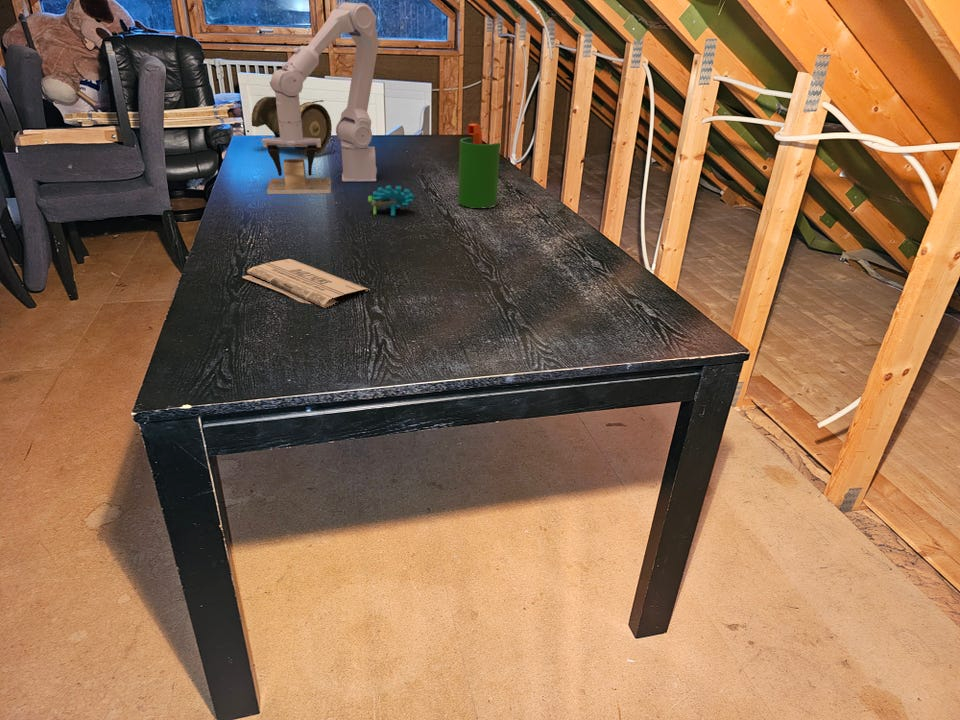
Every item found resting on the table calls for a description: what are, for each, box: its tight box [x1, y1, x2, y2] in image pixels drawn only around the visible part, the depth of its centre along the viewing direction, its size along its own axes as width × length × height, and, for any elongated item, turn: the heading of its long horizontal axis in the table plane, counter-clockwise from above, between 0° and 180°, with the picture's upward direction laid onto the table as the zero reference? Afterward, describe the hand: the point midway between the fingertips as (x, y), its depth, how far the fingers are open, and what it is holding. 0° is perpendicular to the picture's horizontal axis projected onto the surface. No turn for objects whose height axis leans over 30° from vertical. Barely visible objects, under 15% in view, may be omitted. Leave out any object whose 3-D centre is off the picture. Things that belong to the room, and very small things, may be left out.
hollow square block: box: [282, 158, 307, 186], centre depth 173 cm, size 5×5×6 cm
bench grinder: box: [251, 96, 333, 158], centre depth 208 cm, size 20×22×20 cm
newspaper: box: [242, 258, 371, 309], centre depth 119 cm, size 23×12×2 cm, turn 52°
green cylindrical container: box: [457, 123, 501, 208], centre depth 163 cm, size 10×9×20 cm
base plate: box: [266, 177, 332, 195], centre depth 174 cm, size 16×12×5 cm
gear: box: [367, 184, 415, 217], centre depth 157 cm, size 11×6×10 cm
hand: (295, 174), depth 174 cm, fingers open, 7 cm apart
